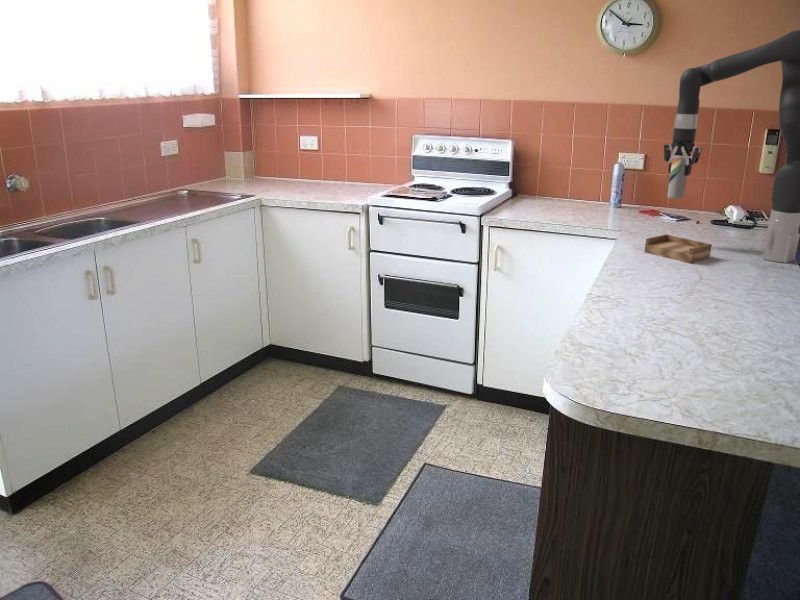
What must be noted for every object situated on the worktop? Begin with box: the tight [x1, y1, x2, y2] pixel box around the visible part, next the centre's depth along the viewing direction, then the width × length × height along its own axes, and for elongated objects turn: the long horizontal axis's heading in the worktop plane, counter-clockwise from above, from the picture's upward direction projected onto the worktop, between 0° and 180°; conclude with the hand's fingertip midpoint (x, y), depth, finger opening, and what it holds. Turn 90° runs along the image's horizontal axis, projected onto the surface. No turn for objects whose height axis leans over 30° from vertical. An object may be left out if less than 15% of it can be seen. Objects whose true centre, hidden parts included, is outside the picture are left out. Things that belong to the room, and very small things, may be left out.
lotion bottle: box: [667, 143, 688, 200], centre depth 243 cm, size 6×6×20 cm
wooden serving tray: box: [644, 234, 713, 264], centre depth 236 cm, size 18×12×5 cm, turn 36°
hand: (678, 174), depth 244 cm, fingers closed on lotion bottle, 5 cm apart
